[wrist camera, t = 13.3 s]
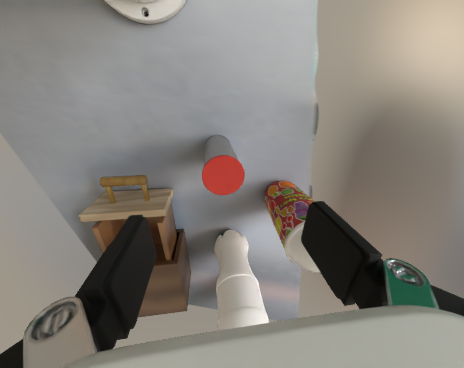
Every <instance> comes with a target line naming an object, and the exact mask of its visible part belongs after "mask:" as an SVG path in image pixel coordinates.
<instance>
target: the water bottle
mask: <svg viewBox="0 0 464 368" xmlns="http://www.w3.org/2000/svg"><path fill="white" fill-rule="evenodd" d="M248 248H249V246H248V242H247V240H246V238H245V237H244V235H242V234H241V233H238V232H237V231H235V230H227V231H225V233H224V235H223V236H222V235H219V236H218V238H217V240H216V243H215V254H216V256H217V258H218V261H219V264H220V273H219V277H218V280H217V283H216V293H217V305H218V331H219V330H225V329H232V328H238V327H245V326H251V325H258V324H264V323H269V320H268V316H267V314H266V312H265V308H264V304H263V300H262V297H261V293H260V289H259V282H258V280H257V279H256V278H255V276H254V274H253V272H252V270H251V268H250V266H249V262H248V258H247V253H248Z"/></svg>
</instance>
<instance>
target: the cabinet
mask: <svg viewBox="0 0 464 368" xmlns="http://www.w3.org/2000/svg"><path fill="white" fill-rule="evenodd" d="M176 232H177V238H178V242H177V247H176V251H175V256H174V260H172V261H162V262H155V264H154V267H153V270H152V273H151V276H150V280H149V283H148V286H147V289H146V292H145V296H144V299H143V302H142V305H141V308H140V311H139V315H138V317H144V316H152V315H159V314H167V313H175V312H182V311H187V306H188V297H189V287H190V277H191V270H190V263H189V257H188V251H187V245H186V238H185V232H184V229H180V230H176Z"/></svg>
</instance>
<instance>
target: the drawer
mask: <svg viewBox="0 0 464 368" xmlns="http://www.w3.org/2000/svg"><path fill="white" fill-rule="evenodd" d="M147 181H148V180H147V176H146V175H137V176H116V177H102V178H101V179H100V185H101V186H102V187H105V189H106V192H104V193H103V194H102V195H101V196H100V197H99V198H98V199H96V200H95V201H94V202H93V203H92V204H91V205H90V206H89V207H87V208H86V209H85V210H84V211H83V212H82V213H81V214H79V217H80V220H81V222H89V221H98V222H97V223H96V224H95V225H94V226H93V227H92V228H91V229H92V231H93V233H94V235H95V237H96V240H97V242H98V244H99V246H100V248H101V251H102V253H104V251H105V250H106V248H107V247H108V246H109V244H110V243H112V242H113V240H114V239H115V237H116V235H117V234H118V232H119V231H120V229H121V228H122V226H123V225H124V223H125V222H126V220H127V219H128V217H129V216H130V215H143V217H146V218H147V221H148V224H149V228H150V231H151V235H152V238H153V242H154V246H155V249H156V254H157V255H156V261H155V262H162V261H172V260H174V256H175V251H176V247H177V242H178V238H177V232H176V227H175V222H174V216H173V211H172V205H171V200H172V197H173V194H174V192H173V188H167V189H149V190H148V189H147V185H146V184H147ZM127 185H141V187H142V190H131V191H113V190H112V187H111V186H127Z"/></svg>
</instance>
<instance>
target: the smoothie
mask: <svg viewBox="0 0 464 368" xmlns="http://www.w3.org/2000/svg"><path fill="white" fill-rule="evenodd" d="M264 202H265V204H266V207H267V209H268V211H269V214H270V216H271V219H272V221H273V223H274V226H275V228H276V230H277V233H278V235H279V237H280V240H281V242H282V244H283V247H284V249H285V252H286V255H287V257H288V258H289V259H290V260H291V261H292V262H294V263H296V264H298V265H299V266H300V267H302V268H304V269H306V270H308V271H311V272H314V273H321V272H320V271H319V269H318V268H317V266H316V265H315V263H314V262H313V260H312V258H311V257H310V255H309V254H308V252H307V251H306V249H305V248H304V246H303V244H302V242H301V235H302V231H303V227H304V223H305V219H306V215H307V211H308V207H309V205H310V204H311V203H312V202H315V201H314V200H313V199H311V198H310V197H309V196H308V195H306V194H305V193H304V192H303V191H301V190H300V189H299V188H298V187H296V186H295V185H294V184H292V183H291V182H287V181H277V182H275V183H273V184H271V185H270V186H269V187H268V189H267V190H266V193H265V196H264Z"/></svg>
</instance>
